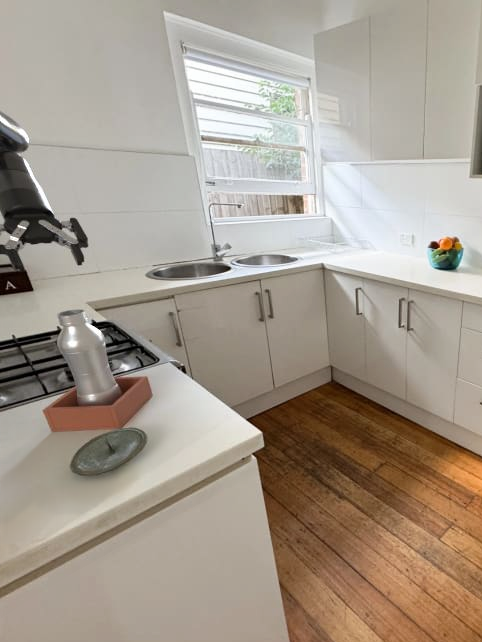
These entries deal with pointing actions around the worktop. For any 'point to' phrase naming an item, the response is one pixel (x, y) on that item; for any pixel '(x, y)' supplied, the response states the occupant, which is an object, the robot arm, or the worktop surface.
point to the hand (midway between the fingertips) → (52, 266)
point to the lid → (108, 451)
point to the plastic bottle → (87, 359)
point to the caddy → (99, 408)
